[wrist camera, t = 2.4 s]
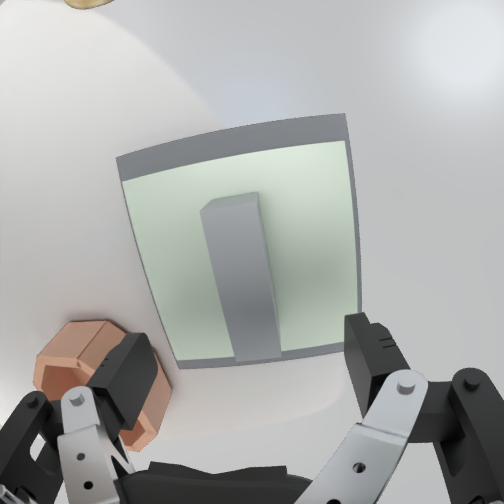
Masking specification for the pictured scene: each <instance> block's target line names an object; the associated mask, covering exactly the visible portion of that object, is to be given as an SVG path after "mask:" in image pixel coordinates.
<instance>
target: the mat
mask: <svg viewBox="0 0 504 504" xmlns="http://www.w3.org/2000/svg"><path fill="white" fill-rule="evenodd" d="M335 141H345V148H346V155H347V162H348V170H349V178H350V187H351V197H352V207H353V218H354V231H355V247H356V267H357V312H358V313H361V312H362V291H361V289H362V288H361V258H360V257H361V255H360V237H359V222H358V209H357V198H356V189H355V179H354V171H353V163H352V155H351V148H350V141H349V134H348V128H347V122H346V117H345V113H343V114H330V115H321V116H320V115H319V116H310V117H301V118H293V119H285V120H278V121H271V122H265V123H259V124H252V125H246V126H240V127H235V128H230V129H225V130H220V131H215V132H210V133H205V134H201V135H196V136H192V137H188V138H184V139H180V140H176V141H172V142H168V143H164V144H160V145H156V146H153V147H149V148H146V149H142V150H139V151H135V152H132V153H129V154H126V155H122V156H119V157H116V161H117V166H118V171H119V176H120V181H121V185H122V190H123V194H124V199H125V203H126V207H127V211H128V215H129V219H130V223H131V227H132V230H133V226H132V222H131V218H130V214H129V210H128V206H127V202H126V197H125V193H124V189H123V184H122V182H123V181H127V180H130V179H134V178H138V177H141V176H145V175H149V174H153V173H157V172H161V171H165V170H169V169H173V168H178V167H182V166H187V165H191V164H196V163H200V162H205V161H210V160H215V159H220V158H225V157H230V156H236V155H241V154H247V153H253V152H259V151H265V150H272V149H278V148H285V147H293V146H300V145H308V144H317V143H326V142H335ZM133 234H134V238H135V242H136V245H137V249H138V252H139V256H140V259H141V262H142V258H141V255H140V251H139V248H138V244H137V241H136V237H135V233H134V230H133ZM142 266H143V269H144V272H145V268H144V265H143V262H142ZM145 276H146V279H147V282H148V285H149V288H150V284H149V281H148V278H147V275H146V272H145ZM150 291H151V288H150ZM151 294H152V291H151ZM152 297H153V294H152ZM153 300H154V297H153ZM154 303H155V300H154ZM155 306H156V303H155ZM156 309H157V306H156ZM157 312H158V309H157ZM158 315H159V318H160V320H161V317H160V314H159V312H158ZM161 323H162V320H161ZM162 326H163V323H162ZM163 329H164V331H165V328H164V326H163ZM165 334H166V331H165ZM166 337H167V334H166ZM167 340H168V342H169V339H168V337H167ZM169 345H170V342H169ZM170 347H171V345H170ZM171 350H172V347H171ZM342 351H344V342H338V343H333V344H327V345H321V346H315V347H308V348H302V349H295V350H288V351H281V353H282V357H277V358H269V359H260V360H251V361H241V362H236V360H235V357H223V358H210V359H194V360H176V357H175V355H174V352H173V350H172V353H173V355H174V358H175V360H176V363H177V365H178V367H179V369H197V368H215V367H228V366H240V365H251V364H260V363H269V362H278V361H285V360H293V359H300V358H307V357H313V356H319V355H325V354H331V353H337V352H342Z"/></svg>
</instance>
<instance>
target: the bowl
mask: <svg viewBox="0 0 504 504" xmlns="http://www.w3.org/2000/svg"><path fill="white" fill-rule="evenodd" d="M125 335H126V333H125V332H123V331H122V330H120V329H119V328H117V327H116V326H115V325H113V324H112V323H110V322H109V321H108V322H107V320H106V321H88V322H68V323H67V324H66V325H65V326H64V327H63V328H62V329H61V330H60V331H59V333H58V334H57V335H56V336H55V337H54V338H53V339H52V340H51V341H50V342H49V343H48V344H47V345H46V346H45V348H44V349H43V350H42V351H41V352H40V353H39V354H38V355H37V358H36V365H35V371H34V379H33V383H34V386H35V387H36V389H37V390H38V391H42V392H44V393H45V395H46V396H47V398H48V399H49V401H53V400H61V399H62V397H63V395H64V394H65V393H66V392H67V391H69V390H70V389H72V388H74V387H78V386H85V385H86V384H87V382H88V381H89V379H90V378H91V376H92V375H93V374H94V372H95V371H96V369H97V368H98V366H99V367H100V363H101V362H102V361H103V360H104V358H105V356H106V355H107V354H108V352H109V351H110V350H111V349H113V348H114V347H115V346H116V345H118V344H120V342H121V341H122V339H123V338H124V337H125ZM153 352H154V351H153ZM154 355H155V358H156V360H157V364H158V374H157V377H156V379H155V381H154V383H153V385H152V388H151V390H150V392H149V394H148V397H147V399H146V401H145V403H144V405H143V408H142V410H141V412H140V414H139V417H138V419H137V421H136V424H135V426H134V428H133V430H132V431H129V430H122V429H121V430H120V432H119V435H120V436H121V438H122V440H123V443H124V445H125V448H126V450H128V451H134V452H140V451H141V450H142V449H143V448H144V447H145V446H146V445H147V444H148V443H149V442H150V441H152V440H153V439H154V438H155V437H156V436H157V434H158V431H159V428H160V425H161V422H162V420H163V417H164V414H165V411H166V408H167V405H168V402H169V399H170V396H171V393H172V390H171V387H170V385H169V383H168V381H167V379H166V377H165V374H164V372H163V370H162V368H161V365H160V363H159V361H158V359H157V356H156V354H155V353H154Z"/></svg>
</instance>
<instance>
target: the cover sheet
mask: <svg viewBox="0 0 504 504" xmlns="http://www.w3.org/2000/svg"><path fill="white" fill-rule="evenodd" d="M122 184H123V189H124V193H125V197H126V202H127V206H128V210H129V214H130V218H131V222H132V226H133V230H134V233H135V237H136V241H137V244H138V248H139V251H140V255H141V258H142V262H143V265H144V268H145V272H146V275H147V278H148V281H149V284H150V288H151V291H152V294H153V297H154V300H155V303H156V306H157V309H158V312H159V314H160V317H161V320H162V323H163V326H164V328H165V331H166V334H167V337H168V339H169V342H170V345H171V347H172V350H173V352H174V355H175V357H176V360H194V359H210V358H223V357H235V360H236V362H241V361H251V360H260V359H269V358H277V357H282V353H281V351H288V350H295V349H302V348H308V347H315V346H321V345H327V344H333V343H338V342H344V317H345V315H349V314H355V313H358V312H357V267H356V247H355V231H354V218H353V207H352V197H351V187H350V178H349V170H348V162H347V155H346V148H345V141H335V142H326V143H317V144H308V145H300V146H293V147H285V148H278V149H272V150H265V151H259V152H253V153H247V154H241V155H236V156H230V157H225V158H220V159H215V160H210V161H205V162H200V163H196V164H191V165H187V166H182V167H178V168H173V169H169V170H165V171H161V172H157V173H153V174H149V175H145V176H141V177H138V178H134V179H130V180H127V181H123V182H122Z"/></svg>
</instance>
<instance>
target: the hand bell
mask: <svg viewBox="0 0 504 504" xmlns="http://www.w3.org/2000/svg"><path fill="white" fill-rule="evenodd" d="M64 1H65V3H66V4H68V5H69V6H71V7H73V8H76V9H89V8H94V7H98V6H101V5H105V4H107V3H110V2H111V1H113V0H64Z"/></svg>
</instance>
